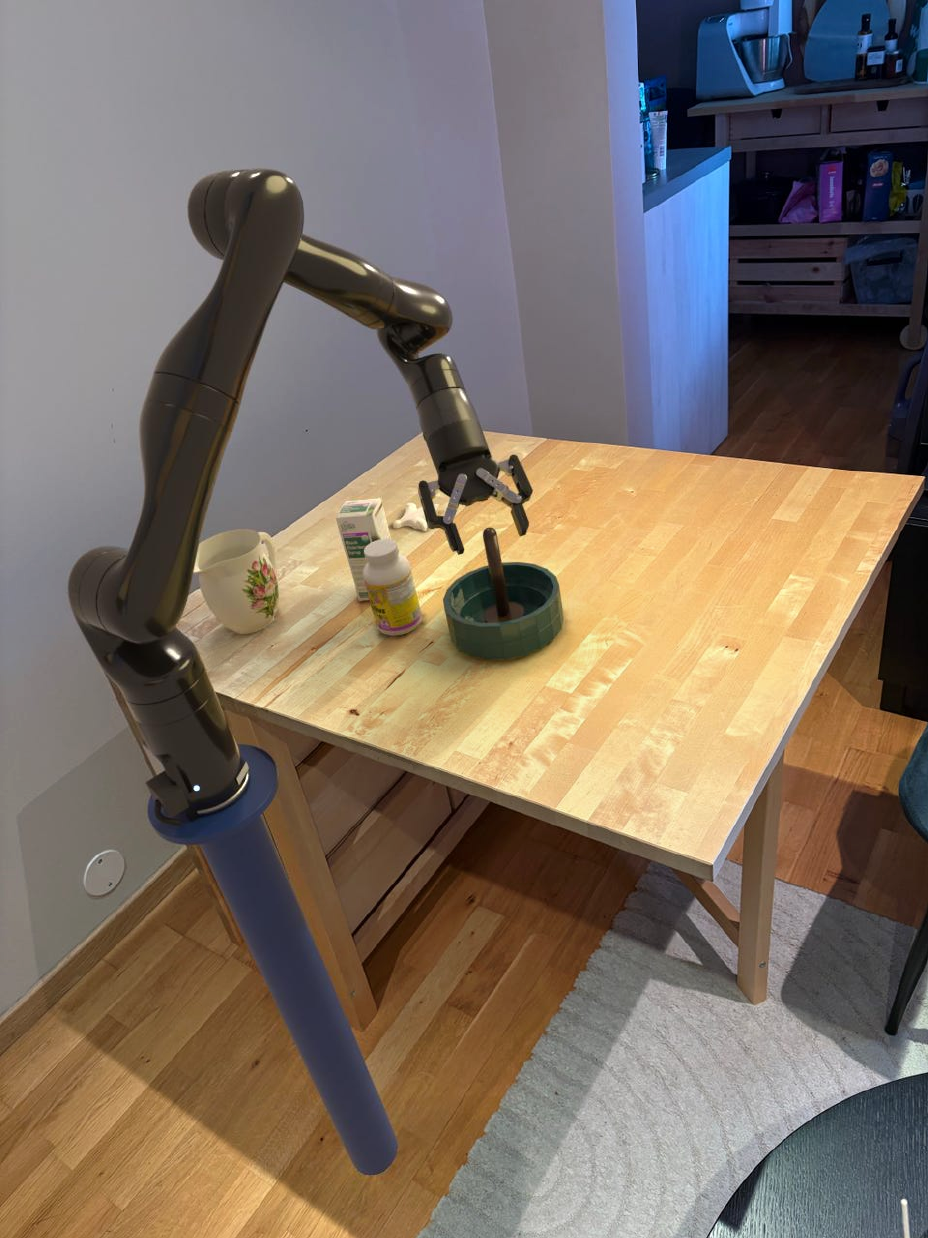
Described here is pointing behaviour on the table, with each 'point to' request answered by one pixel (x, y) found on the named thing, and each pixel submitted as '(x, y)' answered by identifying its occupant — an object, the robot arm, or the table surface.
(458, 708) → the table surface
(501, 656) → the bowl
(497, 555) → the brown peg on disc
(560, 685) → the table surface
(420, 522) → the acanthus leaf ornament
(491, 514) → the table surface
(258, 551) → the pitcher
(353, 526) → the syrup box
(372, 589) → the supplement bottle
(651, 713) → the table surface
